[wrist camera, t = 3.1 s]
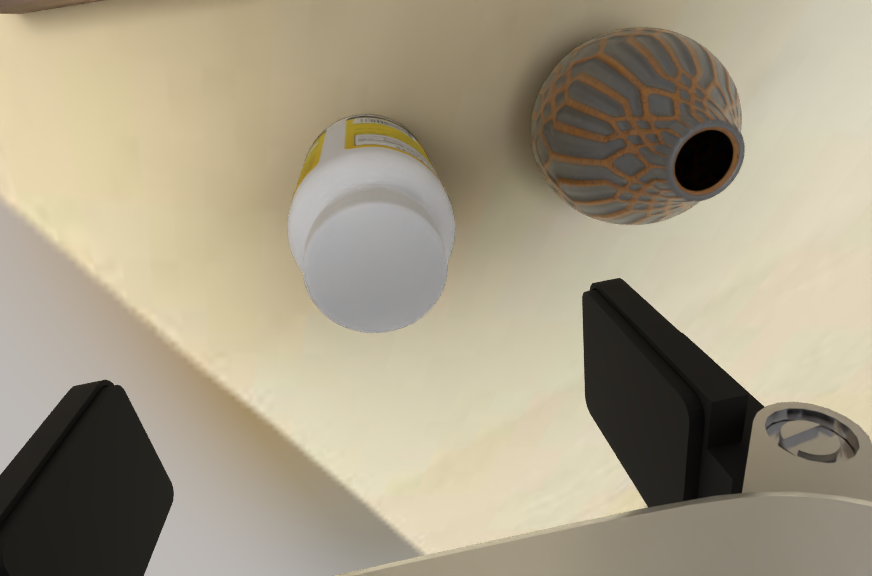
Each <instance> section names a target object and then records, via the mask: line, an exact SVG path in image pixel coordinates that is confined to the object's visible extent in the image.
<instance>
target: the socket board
mask: <svg viewBox="0 0 872 576" xmlns="http://www.w3.org/2000/svg"><path fill="white" fill-rule="evenodd" d="M96 1H102V0H0V14H21V13H27V12H33V11H40V10H46V9H52V8H58V7H65V6H71V5H77V4H84V3H90V2H96Z"/></svg>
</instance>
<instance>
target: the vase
mask: <svg viewBox="0 0 872 576" xmlns="http://www.w3.org/2000/svg"><path fill="white" fill-rule="evenodd" d="M741 126H742V113H741V105H740V100H739V96H738V92H737V89H736V87H735V84H734V82H733V80H732V78H731V77H730V75H729V73H728V72H727V70H726V69H725V67H724V66H723V65H722V64H721V62H720V61H719V60H718V59H717V58H716V57H715V56H714V55H713V54H712V53H710V52H709V51H708V50H707V49H706V48H704V47H703V46H702V45H700V44H698V43H697V42H695V41H694V40H692V39H690V38H688V37H686V36H683V35H681V34H678V33H676V32H672V31H669V30H664V29H658V28H647V27H645V28H627V29H621V30H616V31H611V32H607V33H604V34H601V35H599V36H596V37H594V38H592V39H590V40H588V41H587V42H585V43H583V44H581V45H580V46H578V47H577V48H575V49H574V50H573V51H571V52H570V53H569V54H568V55H567V56H565V57H564V58H563V59H562V60H561V61H560V62H559V63H558V64H557V66H556V67H555V68H554V69H553V70H552V72H551V73H550V74H549V76H548V77H547V79H546V81H545V82H544V84H543V86H542V88H541V90H540V92H539V94H538V97H537V99H536V102H535V106H534V110H533V115H532V123H531V140H532V147H533V152H534V156H535V159H536V162H537V165H538V167H539V170H540V172H541V173H542V175H543V177H544V178H545V180H546V181H547V183H548V184H549V186H550V187H551V188H552V189H553V190H554V192H555V193H556V194H557V195H558V196H559V197H560V198H561V199H562V200H564V201H565V202H566V203H567V204H569V205H570V206H571V207H573V208H574V209H576V210H577V211H579V212H581V213H583V214H585V215H587V216H589V217H592V218H594V219H598V220H601V221H605V222H609V223H615V224H623V225H642V224H650V223H655V222H660V221H663V220H666V219H669V218H672V217H674V216H676V215H679V214H681V213H683V212H685V211H687V210H688V209H690V208H691V207H693V206H694V205H696V204H697V203H699V202H700V201H702V200H706V199H709V198H711V197H713V196H715V195H717V194H719V193H720V192H722V191H723V190H724V189H725V188H727V187H728V186H729V185H730V183H731V182H732V181H733V180H734V178H735V177H736V175H737V174H738V172H739V170H740V168H741V165H742V162H743V159H744V141H743V137H742V135H741Z"/></svg>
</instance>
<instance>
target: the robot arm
mask: <svg viewBox="0 0 872 576" xmlns="http://www.w3.org/2000/svg"><path fill="white" fill-rule="evenodd" d="M582 306H583V340H584V374H585V399H586V404H587V407H588V410H589V412H590V414H591V416H592V417H593V419H594V421H595V422H596V424H597V425H598V427H599V429H600V430H601V432H602V433H603V435H604V437H605V438H606V440H607V441H608V443H609V445H610V446H611V448H612V450H613V451H614V453H615V454H616V456H617V458H618V459H619V461H620V462H621V464H622V466H623V467H624V469H625V470H626V472H627V474H628V475H629V477H630V479H631V480H632V482H633V483H634V485H635V487H636V488H637V490H638V491H639V493H640V495H641V496H642V498H643V499H644V501H645V503H646V504H647V506H648V507H649V508H643V509H638V510H633V511H628V512H624V513H619V514H615V515H610V516H606V517H601V518H596V519H591V520H586V521H581V522H576V523H571V524H567V525H562V526H557V527H553V528H548V529H544V530H539V531H535V532H530V533H525V534H521V535H516V536H512V537H507V538H502V539H498V540H493V541H489V542H484V543H480V544H475V545H470V546H466V547H461V548H457V549H452V550H447V551H443V552H438V553H434V554H429V555H425V556H420V557H416V558H411V559H407V560H402V561H398V562H394V563H389V564H384V565H380V566H375V567H371V568H366V569H362V570H357V571H353V572H348V573H344V574H340V575H335V576H872V443H871V440H870V438H869V436H868V435H867V434H866V433H865V432H864V430H863V429H862V428H861V427H860V426H859V425H857V424H856V423H854V422H853V421H851V420H850V419H849V418H847V417H846V416H844V415H841V414H839V413H837V412H835V411H833V410H830V409H828V408H824V407H820V406H817V405H813V404H808V403H800V402H781V403H776V404H772V405H769V406H766V407H764V406H763V405H762V404H761V403H760V402H758V401H757V400H756V399H755V398H754V397H753V396H752V395H751V394H750V393H749V392H747V391H746V390H745V389H744V388H743V387H742V386H741V385H740V384H739V383H737V382H736V381H735V380H734V379H733V378H732V377H731V376H730V375H729V374H728V373H726V372H725V371H724V370H723V369H722V368H721V367H720V366H719V365H718V364H716V363H715V362H714V361H713V360H712V359H711V358H710V357H709V356H708V355H707V354H705V353H704V352H703V351H702V350H701V349H700V348H699V347H698V346H697V345H696V344H694V343H693V342H692V341H691V340H690V339H689V338H688V337H687V336H686V335H684V334H683V333H681V332H680V331H679V330H677V329H676V328H675V327H674V326H673V325H672V324H671V323H670V322H669V321H668V320H666V319H665V318H664V317H663V316H662V315H661V314H660V313H659V312H658V311H657V310H655V309H654V308H653V307H652V306H651V305H650V304H649V303H648V302H647V301H646V300H644V299H643V298H642V297H641V296H640V295H639V294H638V293H637V292H636V291H635V290H633V289H632V288H631V287H630V286H629V285H628V284H627V283H626V282H625V281H624V280H622V279H621V278H617V279H612V280H607V281H602V282H597V283H592V285H591V287H590V291H587V292H584V293H583V296H582ZM173 496H174V492H173V486H172V483H171V481H170V479H169V477H168V475H167V473H166V471H165V469H164V467H163V465H162V463H161V461H160V459H159V457H158V455H157V454H156V451H155V449H154V447H153V445H152V443H151V441H150V439H149V438H148V435H147V433H146V432H145V430H144V428H143V426H142V424H141V422H140V420H139V418H138V416H137V414H136V412H135V410H134V408H133V406H132V404H131V402H130V400H129V398H128V396H127V394H126V392H125V391H124V389H123V388H122V387H121V386H119V385H114V384H113V383H112V382H110V381H108V380H102V381H97V382H92V383H87V384H82V385H77V386H73V387H72V388H71V389H70V390H69V391H68V393H67V394H66V395H65V396H64V397H63V399H62V400H61V401H60V402H59V404H58V405H57V406H56V407H55V408H54V410H53V411H52V412H51V413H50V415H49V416H48V417H47V418H46V420H45V421H44V422H43V423H42V424H41V426H40V427H39V428H38V429H37V431H36V432H35V433H34V434H33V435H32V437H31V438H30V439H29V441H28V442H27V443H26V444H25V445H24V447H23V448H22V449H21V450H20V451H19V453H18V454H17V455H16V456H15V458H14V459H13V460H12V461H11V463H10V464H9V465H8V466H7V468H6V469H5V470H4V471H3V472H2V474H1V475H0V576H144V573H145V571H146V568H147V566H148V563H149V561H150V558H151V555H152V553H153V551H154V548H155V546H156V543H157V541H158V538H159V535H160V533H161V530H162V528H163V525H164V523H165V520H166V518H167V515H168V513H169V510H170V507H171V505H172V502H173Z"/></svg>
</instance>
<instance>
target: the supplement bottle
mask: <svg viewBox="0 0 872 576" xmlns="http://www.w3.org/2000/svg"><path fill="white" fill-rule="evenodd" d="M454 238H455V220H454V214H453V210H452V206H451V203H450V200H449V197H448V195H447V193H446V191H445V189H444V187H443V185H442V183H441V181H440V179H439V177H438V176H437V174H436V172H435V170H434V168H433V166H432V164H431V162H430V160H429V159H428V157H427V155H426V153H425V151H424V150H423V148H422V146H421V145H420V143H419V142H418V141H417V139H416V138H415V137H414V136H413V135H412V134H411V133H410V132H409V131H408V130H407V129H405V128H404V127H403V126H401V125H400V124H398V123H396V122H394V121H392V120H390V119H387V118H384V117H380V116H375V115H356V116H351V117H348V118H344V119H342V120H339V121H337V122H335V123H334V124H332V125H331V126H329V127H328V128H327V129H325V130H324V131H323V132H322V133H321V134H320V135H319V136H318V138H317V139H316V140H315V142H314V143H313V145H312V147H311V148H310V150H309V152H308V154H307V157H306V160H305V163H304V166H303V169H302V172H301V175H300V178H299V181H298V183H297V187H296V189H295V192H294V195H293V198H292V202H291V205H290V210H289V216H288V239H289V244H290V248H291V251H292V254H293V257H294V259H295V261H296V263H297V265H298V267H299V268H300V270H301V271H302V273H303V276H304V282H305V286H306V288H307V291H308V293H309V296H310V297H311V299H312V301H313V302H314V304H315V305H316V306H317V307H318V309H319V310H320V311H321V312H322V313H323V314H324V315H325V316H327V317H328V318H329V319H331V320H332V321H334V322H335V323H337V324H339V325H341V326H343V327H345V328H348V329H352V330H355V331H360V332H365V333H381V332H389V331H394V330H397V329H400V328H403V327H405V326H408V325H410V324H412V323H414V322H415V321H417V320H418V319H420V318H421V317H422V316H424V315H425V314H426V313H427V312H428V311H429V310H430V309H431V308H432V307H433V306H434V304H435V303H436V301H437V300H438V298H439V297H440V295H441V293H442V290H443V288H444V285H445V282H446V277H447V269H448V264H447V262H448V260H449V258H450V255H451V252H452V249H453V244H454Z"/></svg>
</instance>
